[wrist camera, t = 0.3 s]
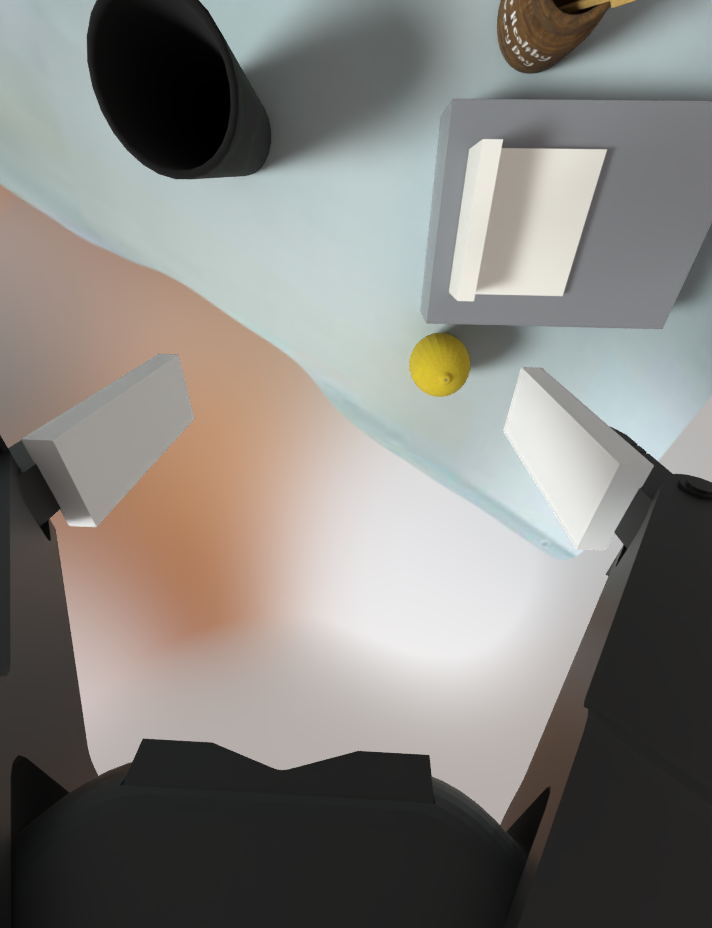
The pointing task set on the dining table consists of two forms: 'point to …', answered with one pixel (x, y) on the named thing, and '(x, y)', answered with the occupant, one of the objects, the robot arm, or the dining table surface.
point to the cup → (175, 89)
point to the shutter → (521, 219)
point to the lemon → (440, 364)
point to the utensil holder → (546, 29)
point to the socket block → (610, 214)
